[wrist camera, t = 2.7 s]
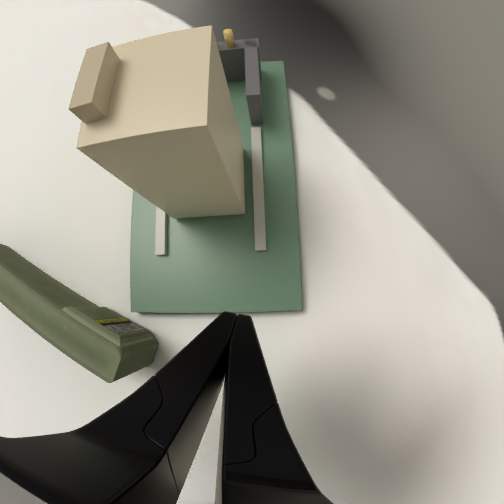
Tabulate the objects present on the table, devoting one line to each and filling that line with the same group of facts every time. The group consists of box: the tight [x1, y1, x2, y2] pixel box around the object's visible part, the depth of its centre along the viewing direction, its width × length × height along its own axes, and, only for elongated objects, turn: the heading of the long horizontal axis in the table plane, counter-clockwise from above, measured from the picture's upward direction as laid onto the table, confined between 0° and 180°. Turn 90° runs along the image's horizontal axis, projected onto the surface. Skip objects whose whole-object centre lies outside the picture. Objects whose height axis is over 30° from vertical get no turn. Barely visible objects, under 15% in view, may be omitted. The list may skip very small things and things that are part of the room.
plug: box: [69, 26, 245, 219], centre depth 15 cm, size 5×5×13 cm
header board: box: [130, 29, 302, 313], centre depth 20 cm, size 20×12×6 cm, turn 2°
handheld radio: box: [0, 244, 158, 383], centre depth 21 cm, size 7×3×25 cm
